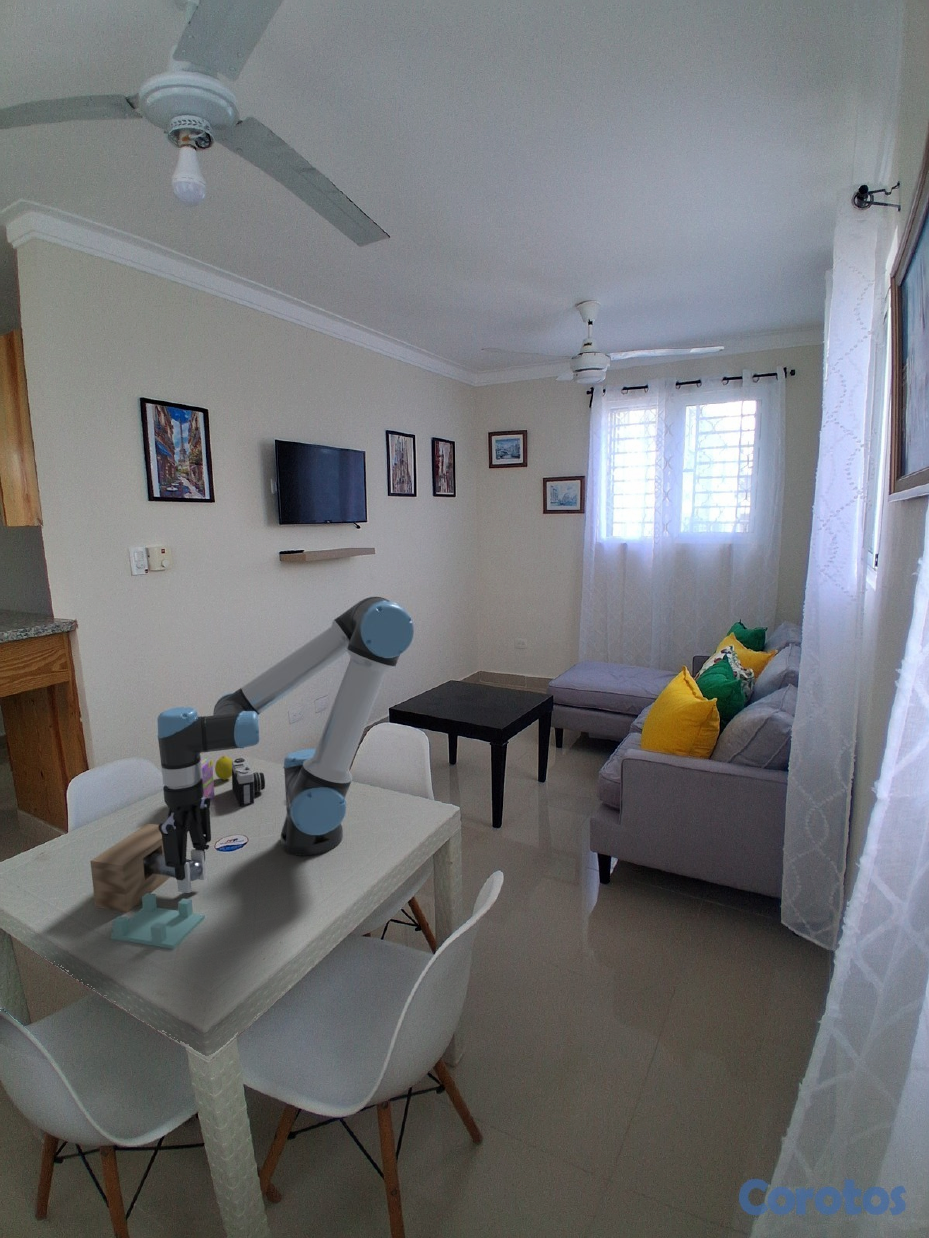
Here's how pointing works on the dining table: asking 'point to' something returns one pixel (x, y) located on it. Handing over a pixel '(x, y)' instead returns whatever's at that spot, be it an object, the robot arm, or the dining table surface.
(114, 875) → the beam
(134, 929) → the cradle
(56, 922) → the dining table surface
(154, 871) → the axle
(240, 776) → the camera
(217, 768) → the lemon
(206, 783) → the box
